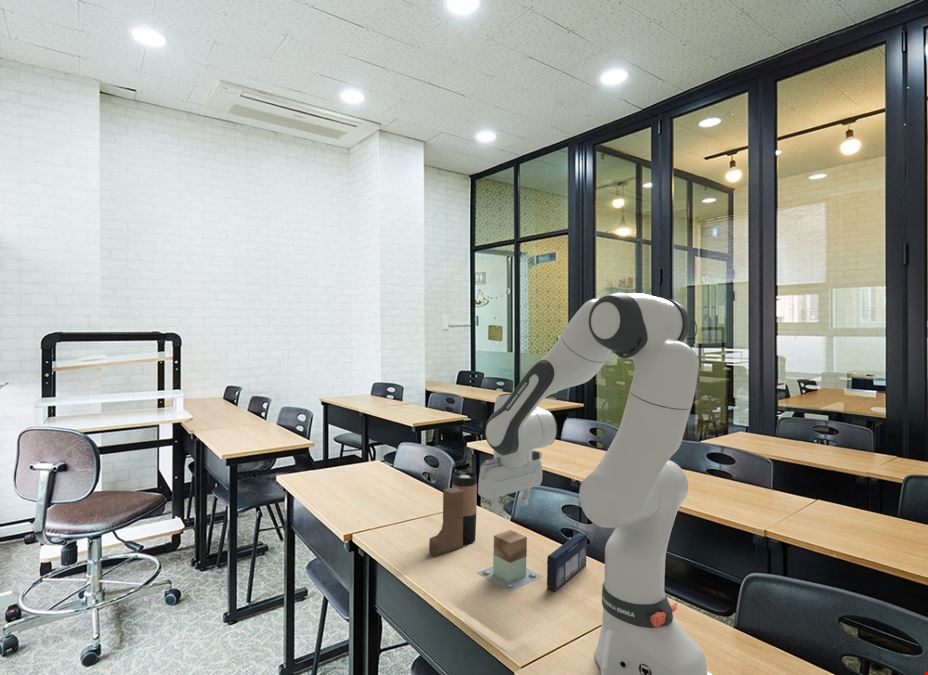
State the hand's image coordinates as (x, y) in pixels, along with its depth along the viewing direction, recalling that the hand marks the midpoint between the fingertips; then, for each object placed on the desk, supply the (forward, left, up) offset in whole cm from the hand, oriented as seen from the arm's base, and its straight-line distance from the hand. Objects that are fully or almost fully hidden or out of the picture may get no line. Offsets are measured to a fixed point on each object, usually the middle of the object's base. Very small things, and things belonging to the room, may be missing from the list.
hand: (511, 509), depth 129 cm
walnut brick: (0, 0, -12) cm, 12 cm away
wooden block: (+23, +3, -19) cm, 30 cm away
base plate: (0, 0, -19) cm, 19 cm away
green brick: (0, 0, -17) cm, 17 cm away
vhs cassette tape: (-10, -11, -19) cm, 24 cm away
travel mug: (+27, -7, -19) cm, 34 cm away
